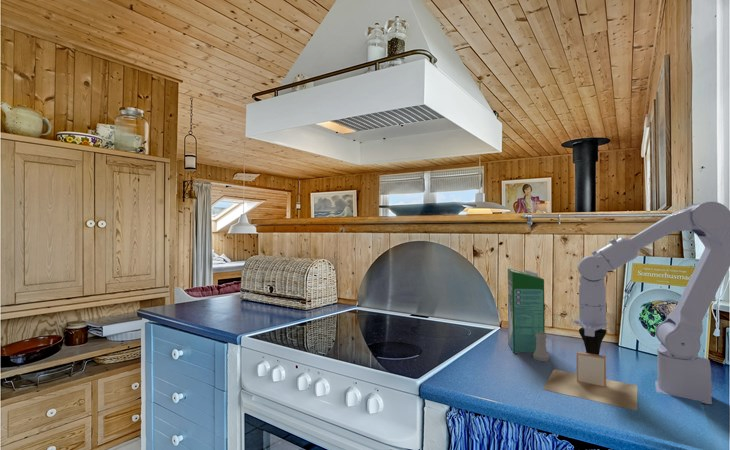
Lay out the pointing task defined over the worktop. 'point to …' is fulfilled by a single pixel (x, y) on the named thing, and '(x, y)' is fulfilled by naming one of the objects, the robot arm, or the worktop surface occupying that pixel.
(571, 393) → the wooden board
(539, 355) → the rook chess piece
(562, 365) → the worktop surface
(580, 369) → the tile
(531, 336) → the milk carton
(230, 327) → the worktop surface
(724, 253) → the robot arm
